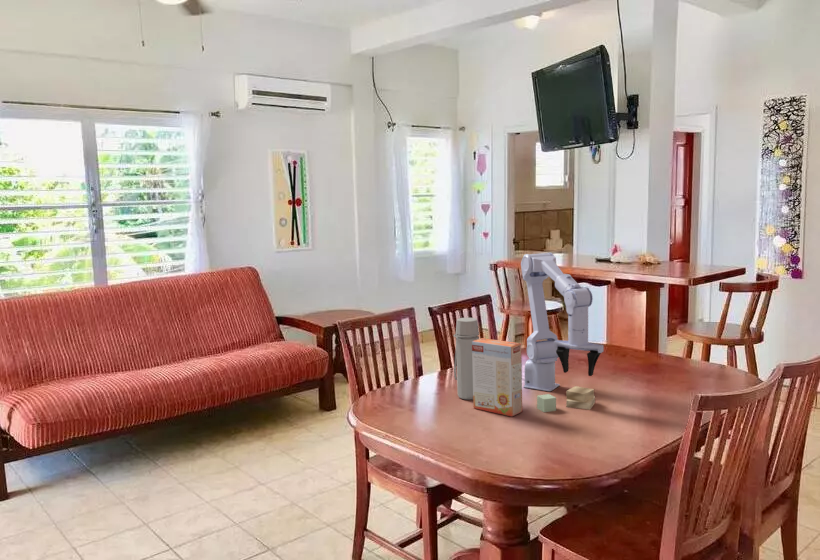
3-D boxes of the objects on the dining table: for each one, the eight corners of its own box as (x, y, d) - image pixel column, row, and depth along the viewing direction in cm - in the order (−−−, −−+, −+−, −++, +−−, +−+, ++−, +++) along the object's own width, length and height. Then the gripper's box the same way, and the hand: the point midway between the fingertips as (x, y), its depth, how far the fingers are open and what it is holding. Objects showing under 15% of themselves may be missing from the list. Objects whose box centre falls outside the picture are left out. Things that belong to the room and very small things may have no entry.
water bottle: (485, 396, 214) (483, 318, 210) (470, 402, 208) (468, 322, 205) (462, 390, 220) (461, 315, 217) (447, 396, 214) (445, 319, 211)
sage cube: (537, 408, 200) (537, 395, 200) (548, 406, 201) (548, 393, 201) (544, 412, 196) (544, 399, 196) (556, 410, 198) (556, 397, 197)
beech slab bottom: (566, 408, 201) (566, 400, 200) (571, 401, 207) (571, 393, 206) (590, 411, 197) (590, 403, 197) (594, 404, 204) (594, 396, 203)
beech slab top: (566, 398, 202) (566, 390, 201) (575, 394, 206) (575, 386, 206) (584, 402, 198) (584, 394, 198) (593, 397, 202) (593, 389, 202)
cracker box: (523, 412, 197) (522, 342, 194) (512, 417, 193) (510, 346, 190) (484, 403, 206) (482, 336, 204) (472, 408, 202) (471, 340, 199)
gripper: (549, 329, 199) (549, 373, 201) (597, 333, 191) (597, 380, 192) (558, 324, 205) (559, 368, 206) (605, 328, 196) (605, 374, 198)
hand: (578, 373), depth 200 cm, fingers open, 7 cm apart
